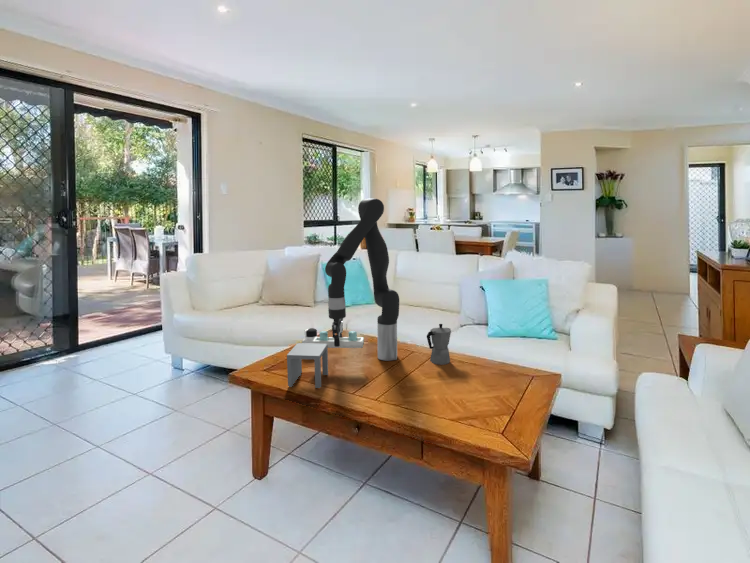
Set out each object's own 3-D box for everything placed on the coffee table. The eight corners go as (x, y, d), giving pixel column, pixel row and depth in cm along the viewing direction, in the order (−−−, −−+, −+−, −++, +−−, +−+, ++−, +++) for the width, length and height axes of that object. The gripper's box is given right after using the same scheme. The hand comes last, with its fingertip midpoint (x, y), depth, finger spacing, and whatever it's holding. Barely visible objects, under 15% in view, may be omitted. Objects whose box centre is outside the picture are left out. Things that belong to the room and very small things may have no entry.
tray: (363, 343, 201) (363, 330, 200) (362, 347, 195) (361, 334, 194) (315, 343, 203) (315, 330, 202) (312, 347, 197) (311, 334, 196)
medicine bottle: (320, 350, 225) (319, 327, 223) (316, 355, 218) (316, 331, 216) (306, 350, 226) (305, 327, 224) (302, 354, 219) (301, 330, 217)
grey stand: (328, 373, 193) (327, 343, 191) (320, 388, 177) (319, 355, 175) (298, 373, 194) (297, 343, 192) (288, 387, 179) (286, 355, 176)
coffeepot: (442, 356, 216) (442, 319, 213) (457, 361, 208) (458, 323, 206) (419, 363, 206) (419, 325, 203) (434, 368, 199) (435, 329, 196)
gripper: (342, 310, 189) (344, 349, 192) (347, 303, 203) (349, 339, 206) (325, 310, 189) (326, 349, 192) (331, 303, 204) (333, 339, 206)
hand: (338, 343), depth 199 cm, fingers closed on tray, 6 cm apart
